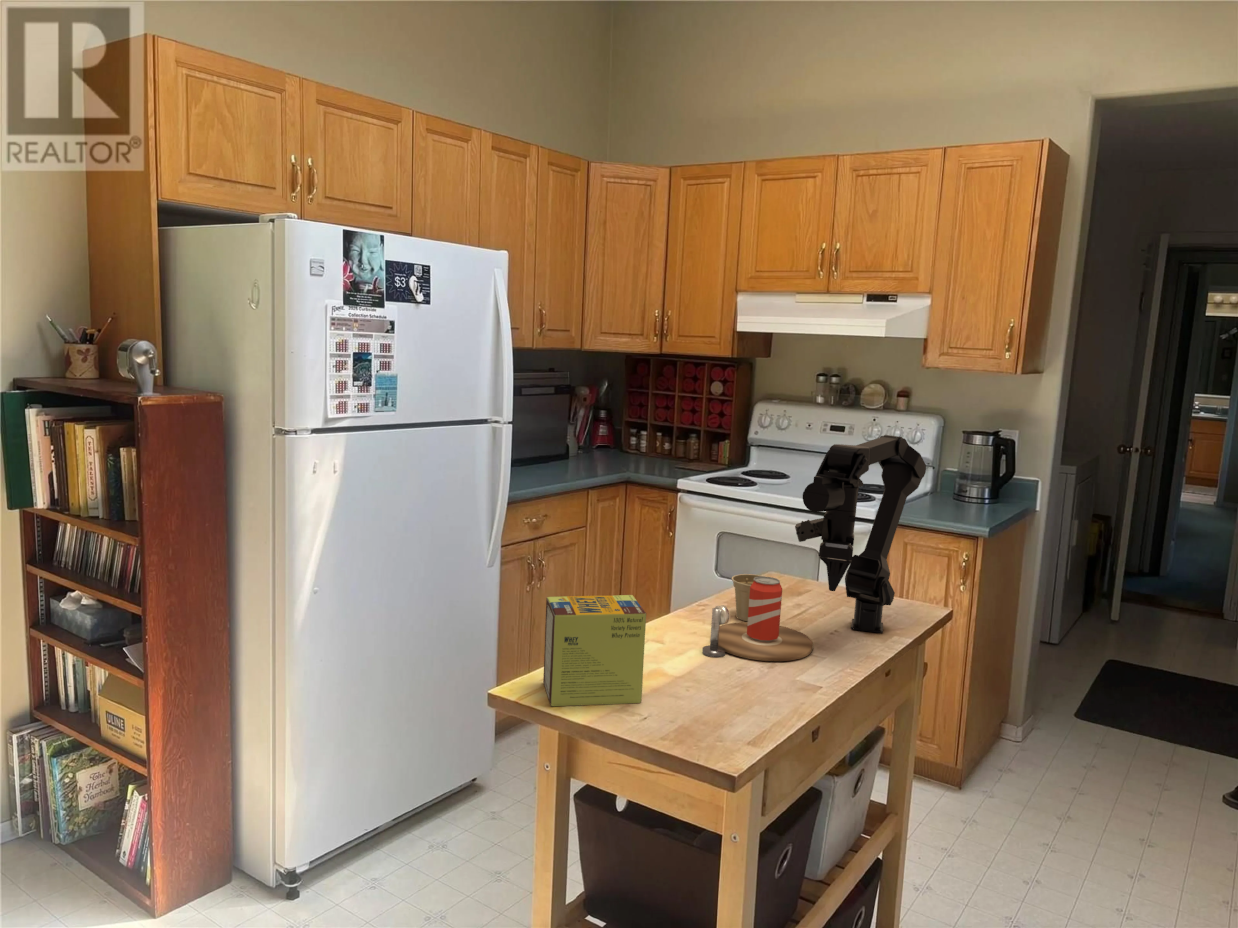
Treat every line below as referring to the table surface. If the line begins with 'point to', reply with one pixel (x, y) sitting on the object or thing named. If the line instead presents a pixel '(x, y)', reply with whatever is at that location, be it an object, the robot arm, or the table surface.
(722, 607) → the metal door stop
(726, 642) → the lazy susan
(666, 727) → the table surface
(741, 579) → the flower pot
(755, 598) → the beverage can
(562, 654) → the protein box
